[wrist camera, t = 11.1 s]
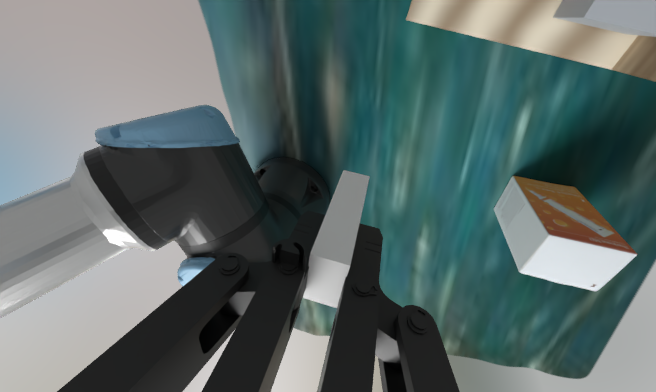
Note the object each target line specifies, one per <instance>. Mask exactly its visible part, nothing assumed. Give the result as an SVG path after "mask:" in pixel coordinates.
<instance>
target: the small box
mask: <svg viewBox="0 0 656 392" xmlns="http://www.w3.org/2000/svg"><path fill="white" fill-rule="evenodd" d="M494 211H495V214H496V216H497V219H498V221H499V224H500V226H501V228H502V231H503V233H504V236H505V238H506V241H507V243H508V246H509V248H510V250H511V253H512V255H513V258H514V260H515V263H516V265H517V268H518V270H519V272H520V273H523V274H526V275H531V276H534V277H538V278H542V279H546V280H549V281H552V282H556V283H560V284H565V285H571V286H575V287H579V288H583V289H587V290H592V291H598V290H599V289H600V288H601V287H602V286H604V285H605V284H606V283H607V282H608V281H609V280H610V279H612V278H613V277H614V276H615V275H616V274H617V273H618V272H619V271H620V270H621V269H622V268H624V267H625V266H626V265H627V264H628V263H629V262H630V261H631V260H632V259H633V258H634V257H636V256H637V253H636V252H635V251H634V250H633V249H632V248H631V247H630V246H629V245H628V244H627V243H626V241H625V240H624V239H623V238H622V237H621V236H620V235H619V234H618V233H617V232H616V231H615V230H614V228H613V227H612V226H611V225H610V224H609V223H608V222H607V221H606V220H605V219H604V218H603V217H602V216H601V214H600V213H599V212H598V211H597V210H596V209H595V208H594V207H593V206H592V205H591V204H590V203H589V202H588V200H587V199H586V198H585V197H584V196H583V195H582V194H581V193H580V192H579V191H578V190H577V189H576V188H575V187H572V186H565V185H559V184H553V183H548V182H543V181H537V180H533V179H527V178H523V177H518V176H512V177H511V179H510V181H509V183H508V185H507V186H506V188H505V190H504V192H503V193H502V195H501V197H500V199H499V200H498V202H497V204H496V206H495V207H494Z"/></svg>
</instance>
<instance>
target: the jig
mask: <svg viewBox="0 0 656 392" xmlns="http://www.w3.org/2000/svg"><path fill="white" fill-rule="evenodd" d="M562 1H563V0H412V2H411V5H410V8H409V12H408V15H407V18H406V20H408V21H412V22H416V23H420V24H425V25H429V26H433V27H437V28H441V29H445V30H449V31H454V32H458V33H462V34H466V35H470V36H474V37H478V38H483V39H487V40H491V41H495V42H499V43H503V44H507V45H511V46H516V47H520V48H524V49H528V50H532V51H536V52H540V53H545V54H549V55H553V56H557V57H561V58H565V59H569V60H574V61H578V62H582V63H586V64H590V65H594V66H598V67H602V68H607V69H611V70H615V71H618V72H622V73H626V74H629V75H633V76H637V77H640V78H644V79H648V80H652V81H655V82H656V37H652V36H640V35H628V34H623V33H619V32H614V31H610V30H606V29H601V28H597V27H592V26H588V25H584V24H579V23H575V22H570V21H566V20H562V19H557V18H553V16H554V14H555V13H556V11H557V9H558V8H559V6H560V4H561V2H562Z"/></svg>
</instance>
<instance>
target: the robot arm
mask: <svg viewBox="0 0 656 392" xmlns="http://www.w3.org/2000/svg"><path fill="white" fill-rule="evenodd" d="M95 136H96V142H97V143H98V144H100V145H101V146H100V147H97V148H94V149H92V150H89V151H87V152H84V153H82V154H80V156H79V160H78V163H77V166H76V170H75V172H74V174H73V175H72V176H71V177H69V178H66V179H64V180H61V181H59V182H57V183H54V184H52V185H49V186H47V187H44V188H42V189H39V190H37V191H35V192H32V193H30V194H27V195H25V196H23V197H20V198H18V199H15V200H13V201H10V202H8V203H5V204H3V205H1V206H0V318H2V317H4V316H6V315H7V314H9V313H11V312H13V311H15V310H17V309H18V308H20V307H22V306H24V305H26V304H28V303H29V302H31V301H33V300H35V299H37V298H39V297H41V296H42V295H44V294H46V293H48V292H50V291H52V290H53V289H55V288H57V287H59V286H61V285H63V284H65V283H66V282H68V281H70V280H72V279H74V278H76V277H77V276H79V275H81V274H83V273H85V272H87V271H89V270H90V269H92V268H94V267H96V266H97V265H100V264H101V263H103V262H105V261H107V260H109V259H111V258H112V257H114V256H116V255H118V254H120V253H122V252H124V251H125V250H127V249H133V248H137V249H142V250H148V251H155V250H157V249H159V248H161V247H162V246H164V245H166V244H167V243H170V242H172V241H174V240H175V241H176V242H177V243H178V244H179V246H180V247H181V248H182V250H183V251H184V252H185V254H186V255H187V259H185V260H184V261H183V262H182V263H181V264H180V268H179V269H178V280H179V282H180V284H181V285H182V286H183V287H182V288H181V289H179V290H178V291H177V292H176V293H175V294H173V295H172V296H171V297H170V298H169V299H167V300H166V301H165V302H164V303H163V304H161V305H160V306H159V307H158V308H157V309H155V310H154V311H153V312H152V313H151V314H149V315H148V316H147V317H146V318H145V319H143V320H142V321H141V322H140V323H139V324H137V326H135V327H134V328H133V329H132V330H130V331H129V332H128V333H127V334H126V335H124V336H123V337H122V338H121V339H120V340H119V341H117V342H116V343H115V344H114V345H112V346H111V347H110V348H109V349H108V350H106V351H105V352H104V353H103V354H102V355H100V356H99V357H98V358H97V359H96V360H94V361H93V362H92V363H91V364H90V365H88V366H87V367H86V368H85V369H84V370H83V371H81V372H80V373H79V374H78V375H77V376H75V377H74V378H73V379H72V380H71V381H70V382H68V383H67V384H66V385H65V386H63V387H62V388H61V389H60V390H59V391H57V392H182V391H183V390H184V389H185V388H186V387H187V385H188V384H189V383H190V382H191V381H192V380H193V378H194V377H195V376H196V375H197V374H198V372H199V371H200V370H201V369H202V368H203V366H204V365H205V364H206V363H207V362H208V361H209V359H210V358H211V357H212V356H213V355H214V353H215V352H216V351H217V350H218V349H219V348H220V346H221V345H222V344H223V343H224V342H225V340H226V339H227V338H228V337H229V336H230V334H231V333H232V332H233V331H234V330H235V331H234V333H233V335H232V337H231V338H230V340H229V342H228V344H227V346H226V348H225V350H224V351H223V353H222V355H221V357H220V359H219V361H218V362H217V364H216V366H215V368H214V370H213V372H212V374H211V376H210V377H209V379H208V381H207V383H206V385H205V386H204V388H203V390H202V392H271V389H272V386H273V383H274V380H275V377H276V375H277V372H278V369H279V366H280V363H281V360H282V358H283V355H284V352H285V349H286V346H287V343H288V341H289V338H290V335H291V332H292V330H293V327H294V324H295V321H296V318H297V315H298V313H299V309H300V303H301V300H302V298H305V299H309V300H312V301H315V302H318V303H322V304H325V305H328V306H331V307H335V308H337V311H336V315H335V318H334V322H333V325H332V328H331V335H330V339H329V343H328V347H327V352H326V356H325V360H324V364H323V369H322V373H321V377H320V382H319V386H318V390H317V392H372V385H373V373H374V362H375V355H376V356H377V357H378V360H379V367H380V374H381V381H382V388H383V392H459V389H458V386H457V383H456V380H455V377H454V374H453V372H452V369H451V366H450V363H449V360H448V357H447V354H446V351H445V348H444V345H443V342H442V339H441V336H440V333H439V331H438V328H437V325H436V323H435V321H434V319H433V317H432V316H431V315H430V314H429V313H428V312H427V311H426V310H424V309H422V308H421V307H418V306H414V305H408V306H405V307H403V308H402V307H401V306H399V305H398V304H396V303H394V302H393V301H391V300H390V299H389V298H387V296H386V295H385V294H384V293H383V292H382V290H381V288H380V285H379V272H380V261H381V251H382V240H383V237H382V234H381V232H380V230H379V229H378V228H374V227H371V226H367V225H363V224H360V219H361V214H362V209H363V205H364V200H365V195H366V191H367V186H368V182H369V177H370V176H366V175H362V174H358V173H354V172H350V171H346V170H343V173H342V175H341V178H340V180H339V183H338V185H337V188H336V190H335V193H334V195H333V198H332V200H331V203H330V195H329V191H328V188H327V186H326V184H325V182H324V180H323V179H322V177H321V176H320V175H319V174H318V173H317V172H316V171H315V170H314V169H313V168H311V167H310V166H309V165H307V164H305V163H303V162H301V161H299V160H296V159H293V158H287V157H279V158H273V159H270V160H268V161H266V162H265V163H263V164H262V165H261V166H260V167H259V168H258V169H257V170H256V171H255V172H254V173H253V171H252V169H251V167H250V165H249V163H248V161H247V159H246V157H245V155H244V153H243V151H242V149H241V147H240V145H239V142H240V141H239V139H238V138H237V137H235V135H234V133H233V131H232V130H231V128H230V126H229V124H228V122H227V121H226V119H225V117H224V116H223V114H222V113H221V112H220V111H219V110H218V109H216V108H215V107H212V106H209V105H200V106H195V107H191V108H186V109H181V110H177V111H173V112H168V113H164V114H160V115H155V116H151V117H147V118H142V119H137V120H133V121H130V122H126V123H121V124H116V125H112V126H108V127H104V128H100V129H97V130H96V131H95ZM329 204H330V205H329Z"/></svg>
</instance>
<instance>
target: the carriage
mask: <svg viewBox="0 0 656 392" xmlns="http://www.w3.org/2000/svg"><path fill="white" fill-rule="evenodd" d="M553 18H557V19H562V20H566V21H570V22H575V23H579V24H584V25H588V26H592V27H597V28H601V29H606V30H610V31H614V32H619V33H623V34H628V35H640V36H652V37H656V0H563V1H562V2H561V4H560V6H559V8H558V9H557V11H556V13H555V14H554V16H553Z"/></svg>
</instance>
